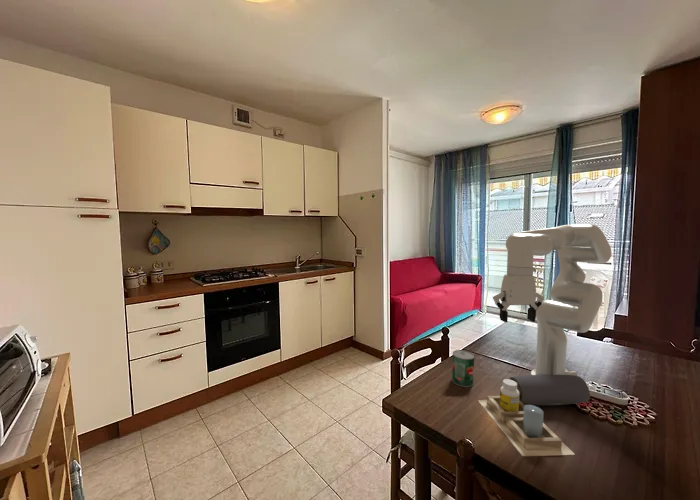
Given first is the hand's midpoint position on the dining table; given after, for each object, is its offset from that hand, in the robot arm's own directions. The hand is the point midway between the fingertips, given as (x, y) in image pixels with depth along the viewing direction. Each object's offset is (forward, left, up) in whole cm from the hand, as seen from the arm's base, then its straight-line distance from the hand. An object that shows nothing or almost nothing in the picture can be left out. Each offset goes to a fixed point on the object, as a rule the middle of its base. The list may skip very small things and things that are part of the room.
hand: (517, 320), depth 98 cm
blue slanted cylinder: (+7, +19, -27) cm, 34 cm away
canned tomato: (+13, -12, -28) cm, 33 cm away
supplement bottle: (+7, +8, -27) cm, 29 cm away
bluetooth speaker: (-9, +4, -28) cm, 30 cm away
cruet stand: (+7, +14, -28) cm, 32 cm away
